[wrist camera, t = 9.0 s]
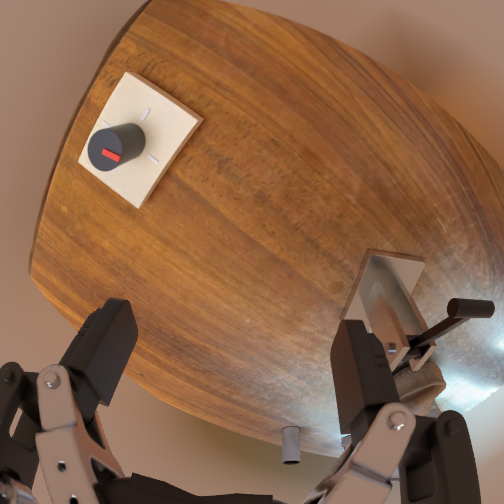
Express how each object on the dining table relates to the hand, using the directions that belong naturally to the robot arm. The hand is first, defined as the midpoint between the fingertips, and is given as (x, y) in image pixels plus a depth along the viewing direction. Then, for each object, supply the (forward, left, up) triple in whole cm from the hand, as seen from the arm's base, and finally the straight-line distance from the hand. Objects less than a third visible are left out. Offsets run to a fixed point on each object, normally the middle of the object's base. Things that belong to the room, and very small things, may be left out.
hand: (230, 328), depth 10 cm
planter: (+62, +17, -22) cm, 68 cm away
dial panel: (-3, -14, -22) cm, 26 cm away
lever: (+8, +19, -10) cm, 23 cm away
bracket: (+13, +19, -22) cm, 32 cm away
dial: (-3, -14, -19) cm, 24 cm away
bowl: (+35, +38, -22) cm, 56 cm away
